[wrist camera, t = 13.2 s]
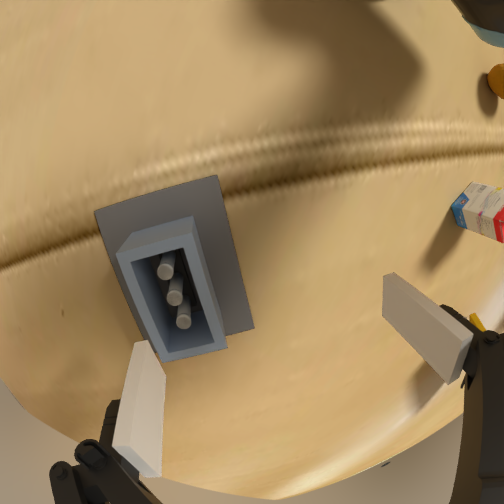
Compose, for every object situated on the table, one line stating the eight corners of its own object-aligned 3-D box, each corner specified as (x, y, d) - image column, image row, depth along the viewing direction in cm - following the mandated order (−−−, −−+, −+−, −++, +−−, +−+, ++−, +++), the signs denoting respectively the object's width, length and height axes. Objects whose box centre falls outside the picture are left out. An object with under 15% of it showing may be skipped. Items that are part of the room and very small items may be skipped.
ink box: (456, 226, 44) (516, 251, 30) (449, 204, 42) (513, 226, 28) (478, 200, 43) (535, 219, 29) (472, 179, 41) (532, 195, 28)
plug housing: (131, 232, 34) (115, 253, 26) (192, 215, 34) (192, 232, 27) (166, 326, 39) (162, 362, 31) (221, 313, 39) (227, 347, 32)
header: (94, 210, 32) (74, 223, 26) (217, 174, 34) (221, 179, 27) (151, 352, 40) (146, 382, 34) (254, 327, 42) (264, 355, 35)
